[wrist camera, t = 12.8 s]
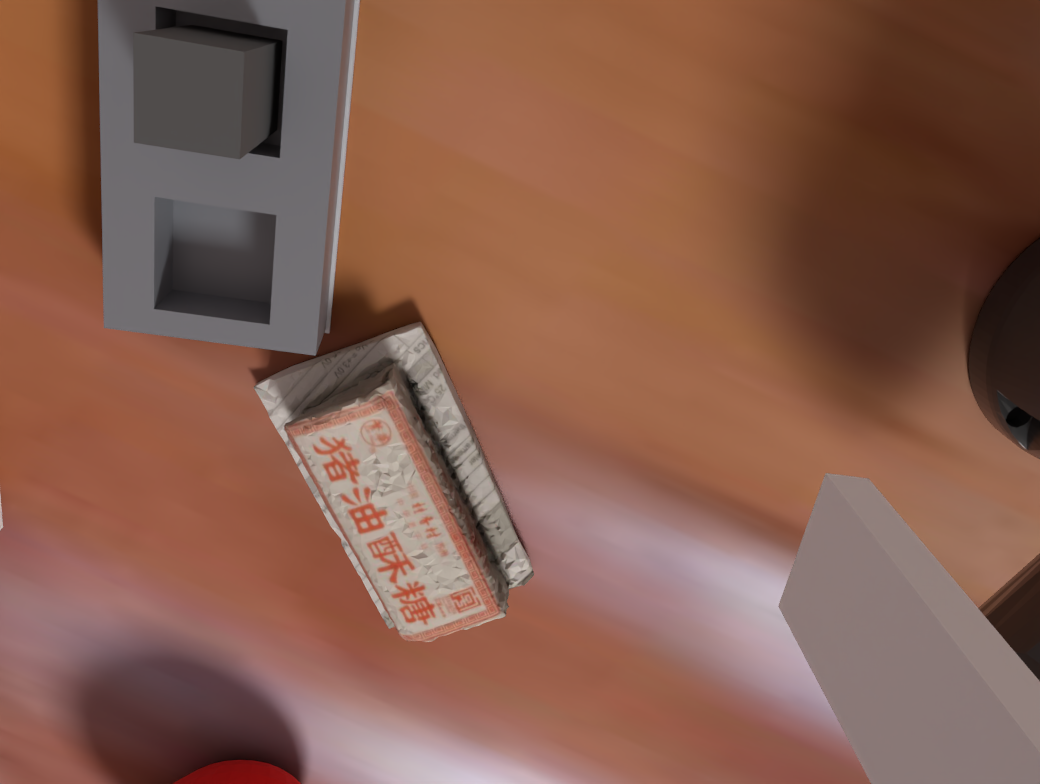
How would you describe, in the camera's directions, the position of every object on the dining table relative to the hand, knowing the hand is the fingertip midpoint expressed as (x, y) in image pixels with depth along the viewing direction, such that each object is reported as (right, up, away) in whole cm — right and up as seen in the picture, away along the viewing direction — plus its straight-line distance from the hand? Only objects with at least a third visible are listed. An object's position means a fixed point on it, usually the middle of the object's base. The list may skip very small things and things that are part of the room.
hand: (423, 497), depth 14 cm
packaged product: (-5, -3, +38) cm, 38 cm away
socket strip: (-12, +17, +28) cm, 34 cm away
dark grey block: (-12, +16, +27) cm, 33 cm away
